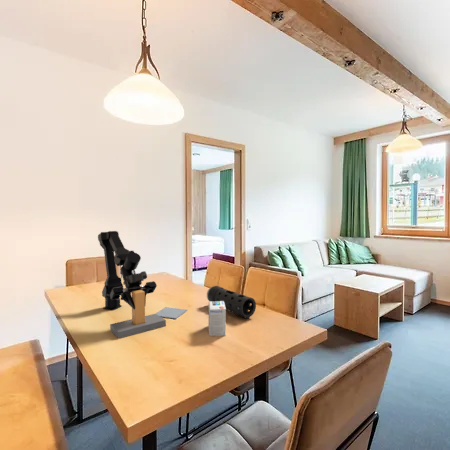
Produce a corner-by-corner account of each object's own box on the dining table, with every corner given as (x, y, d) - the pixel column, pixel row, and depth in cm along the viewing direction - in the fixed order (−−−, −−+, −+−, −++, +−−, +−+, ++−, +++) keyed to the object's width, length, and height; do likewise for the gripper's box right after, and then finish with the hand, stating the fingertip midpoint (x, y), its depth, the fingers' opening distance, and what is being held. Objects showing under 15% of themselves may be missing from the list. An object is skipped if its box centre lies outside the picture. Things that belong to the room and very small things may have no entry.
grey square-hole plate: (110, 330, 118) (110, 324, 118) (155, 319, 130) (155, 313, 130) (118, 338, 110) (118, 332, 110) (165, 325, 123) (165, 320, 123)
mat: (152, 316, 134) (152, 315, 134) (165, 308, 146) (165, 307, 146) (175, 319, 130) (175, 318, 130) (187, 310, 142) (187, 309, 142)
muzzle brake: (241, 322, 128) (241, 299, 127) (205, 306, 149) (205, 286, 149) (256, 317, 133) (256, 295, 133) (219, 302, 155) (219, 283, 155)
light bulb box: (208, 325, 123) (208, 300, 123) (224, 325, 124) (224, 300, 123) (209, 336, 112) (209, 309, 112) (226, 335, 113) (226, 308, 113)
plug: (132, 324, 121) (131, 291, 120) (141, 322, 123) (140, 289, 122) (135, 327, 117) (135, 293, 117) (145, 324, 120) (144, 291, 119)
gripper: (111, 268, 116) (121, 301, 108) (154, 263, 128) (166, 293, 120) (106, 283, 123) (115, 316, 115) (147, 277, 135) (158, 306, 126)
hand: (139, 307), depth 119 cm, fingers closed on plug, 4 cm apart
